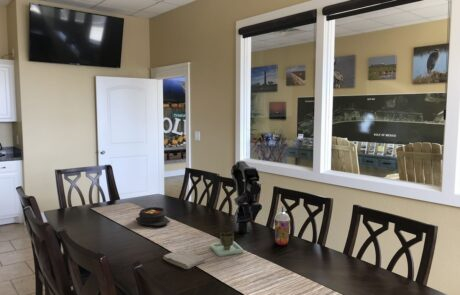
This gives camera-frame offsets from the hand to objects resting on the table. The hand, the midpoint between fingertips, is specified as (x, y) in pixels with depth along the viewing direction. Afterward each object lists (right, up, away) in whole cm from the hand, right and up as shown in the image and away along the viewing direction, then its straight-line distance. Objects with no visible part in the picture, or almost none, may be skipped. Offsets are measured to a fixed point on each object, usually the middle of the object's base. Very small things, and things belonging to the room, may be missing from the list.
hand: (249, 218), depth 201 cm
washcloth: (-33, -15, -27) cm, 45 cm away
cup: (-12, -13, -13) cm, 22 cm away
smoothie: (+17, -13, -4) cm, 22 cm away
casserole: (-59, -9, +31) cm, 68 cm away
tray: (-12, -13, -13) cm, 23 cm away
